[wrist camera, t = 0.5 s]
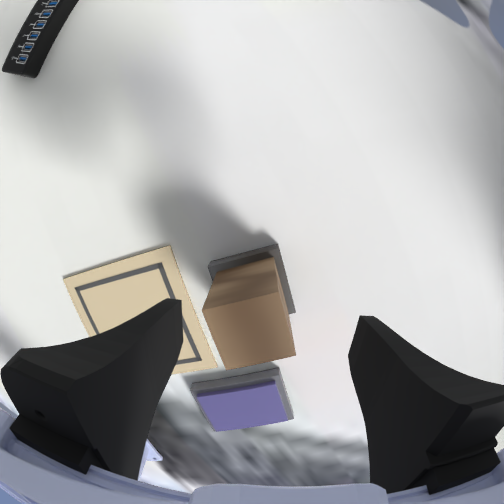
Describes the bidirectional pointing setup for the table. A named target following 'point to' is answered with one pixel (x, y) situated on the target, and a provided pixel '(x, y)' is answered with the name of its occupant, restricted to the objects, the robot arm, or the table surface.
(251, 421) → the pad
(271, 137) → the table surface
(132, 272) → the card
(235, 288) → the stamp
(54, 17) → the multiport hub
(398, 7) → the table surface
